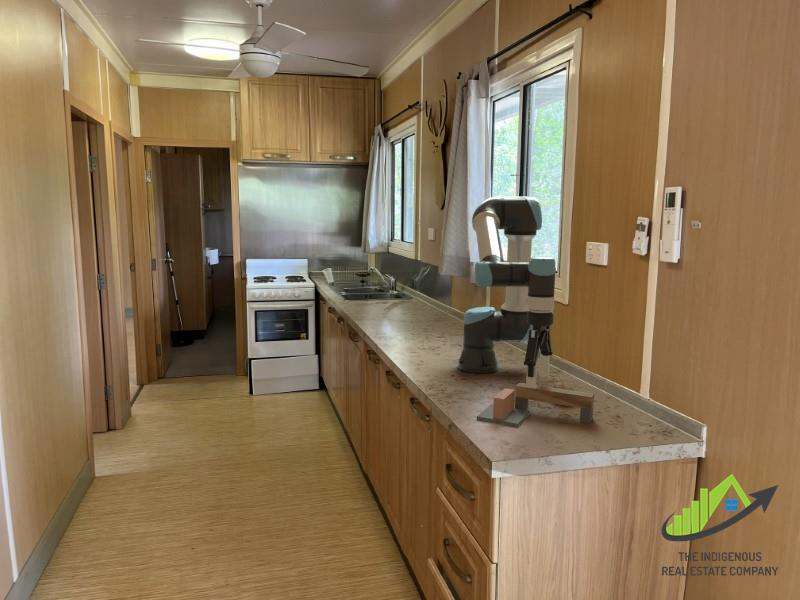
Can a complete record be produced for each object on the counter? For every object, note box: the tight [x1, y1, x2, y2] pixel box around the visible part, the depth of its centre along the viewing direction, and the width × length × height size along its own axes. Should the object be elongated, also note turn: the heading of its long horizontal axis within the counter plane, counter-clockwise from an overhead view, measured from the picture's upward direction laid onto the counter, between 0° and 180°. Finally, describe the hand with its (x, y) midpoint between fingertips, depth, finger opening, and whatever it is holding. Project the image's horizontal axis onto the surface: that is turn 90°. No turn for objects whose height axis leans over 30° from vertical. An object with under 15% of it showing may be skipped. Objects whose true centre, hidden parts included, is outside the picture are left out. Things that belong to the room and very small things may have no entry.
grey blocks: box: [514, 397, 594, 425], centre depth 166 cm, size 5×22×4 cm, turn 61°
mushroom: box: [553, 381, 575, 391], centre depth 178 cm, size 8×8×6 cm
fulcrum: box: [476, 387, 531, 428], centre depth 164 cm, size 12×12×7 cm
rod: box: [515, 382, 595, 410], centre depth 165 cm, size 4×22×4 cm, turn 61°
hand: (537, 381), depth 167 cm, fingers open, 13 cm apart
